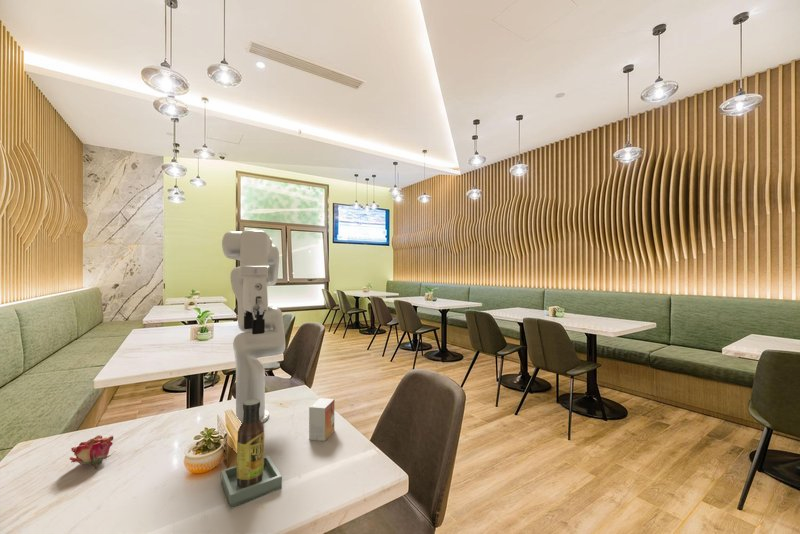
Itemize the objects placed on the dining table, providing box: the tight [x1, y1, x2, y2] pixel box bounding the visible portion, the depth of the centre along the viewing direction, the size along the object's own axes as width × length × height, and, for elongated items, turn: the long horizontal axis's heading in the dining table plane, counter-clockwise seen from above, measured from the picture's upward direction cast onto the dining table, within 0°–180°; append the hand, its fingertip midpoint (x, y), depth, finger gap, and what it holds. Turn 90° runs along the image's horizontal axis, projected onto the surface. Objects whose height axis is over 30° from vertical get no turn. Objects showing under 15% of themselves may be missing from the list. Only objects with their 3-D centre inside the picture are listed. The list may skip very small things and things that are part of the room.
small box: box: [308, 397, 335, 442], centre depth 110 cm, size 8×6×10 cm
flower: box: [69, 435, 115, 470], centre depth 92 cm, size 10×9×8 cm
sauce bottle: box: [236, 399, 265, 487], centre depth 85 cm, size 6×6×20 cm
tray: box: [220, 454, 283, 509], centre depth 84 cm, size 12×12×3 cm
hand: (253, 331), depth 98 cm, fingers open, 9 cm apart
